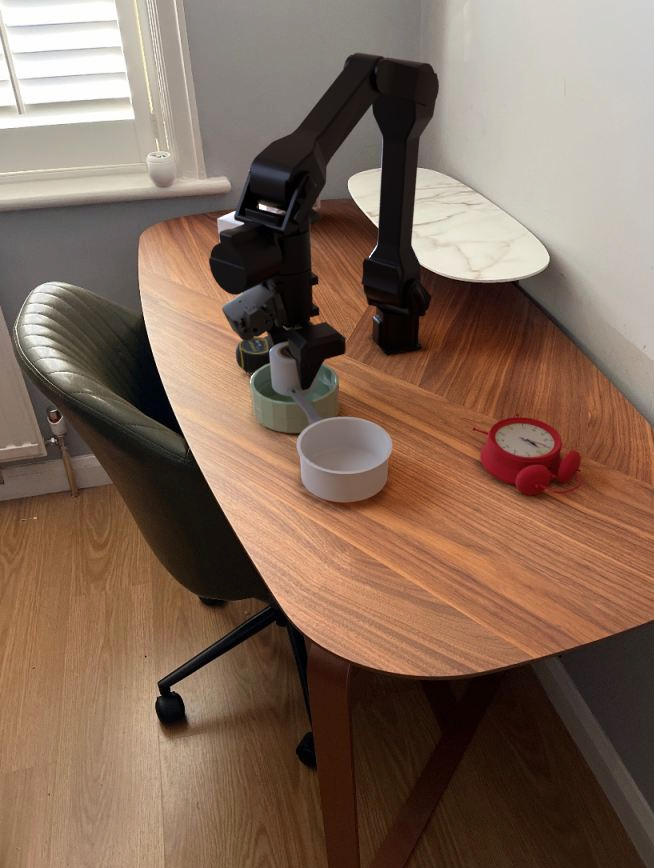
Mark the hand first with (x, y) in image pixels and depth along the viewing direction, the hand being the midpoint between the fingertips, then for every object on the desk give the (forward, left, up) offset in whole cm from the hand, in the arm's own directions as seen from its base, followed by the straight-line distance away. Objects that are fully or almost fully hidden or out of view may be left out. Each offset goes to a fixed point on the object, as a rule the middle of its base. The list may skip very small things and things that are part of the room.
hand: (294, 378), depth 101 cm
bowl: (0, 0, -5) cm, 5 cm away
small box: (-5, -48, -6) cm, 49 cm away
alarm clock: (-24, +23, -6) cm, 34 cm away
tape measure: (+1, -14, -6) cm, 15 cm away
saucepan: (0, +13, -5) cm, 14 cm away
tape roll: (0, 0, -1) cm, 1 cm away
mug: (-21, -75, -6) cm, 78 cm away
